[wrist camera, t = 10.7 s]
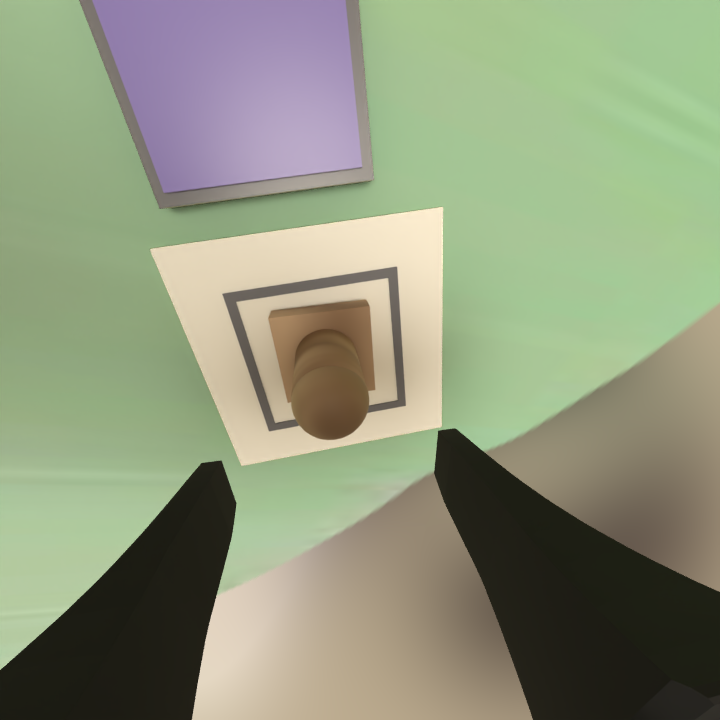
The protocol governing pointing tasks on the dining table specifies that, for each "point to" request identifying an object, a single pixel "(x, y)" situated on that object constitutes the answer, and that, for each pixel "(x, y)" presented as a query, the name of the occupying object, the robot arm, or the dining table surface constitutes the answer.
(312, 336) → the stamp
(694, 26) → the dining table surface
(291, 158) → the ink pad
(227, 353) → the paper sheet
